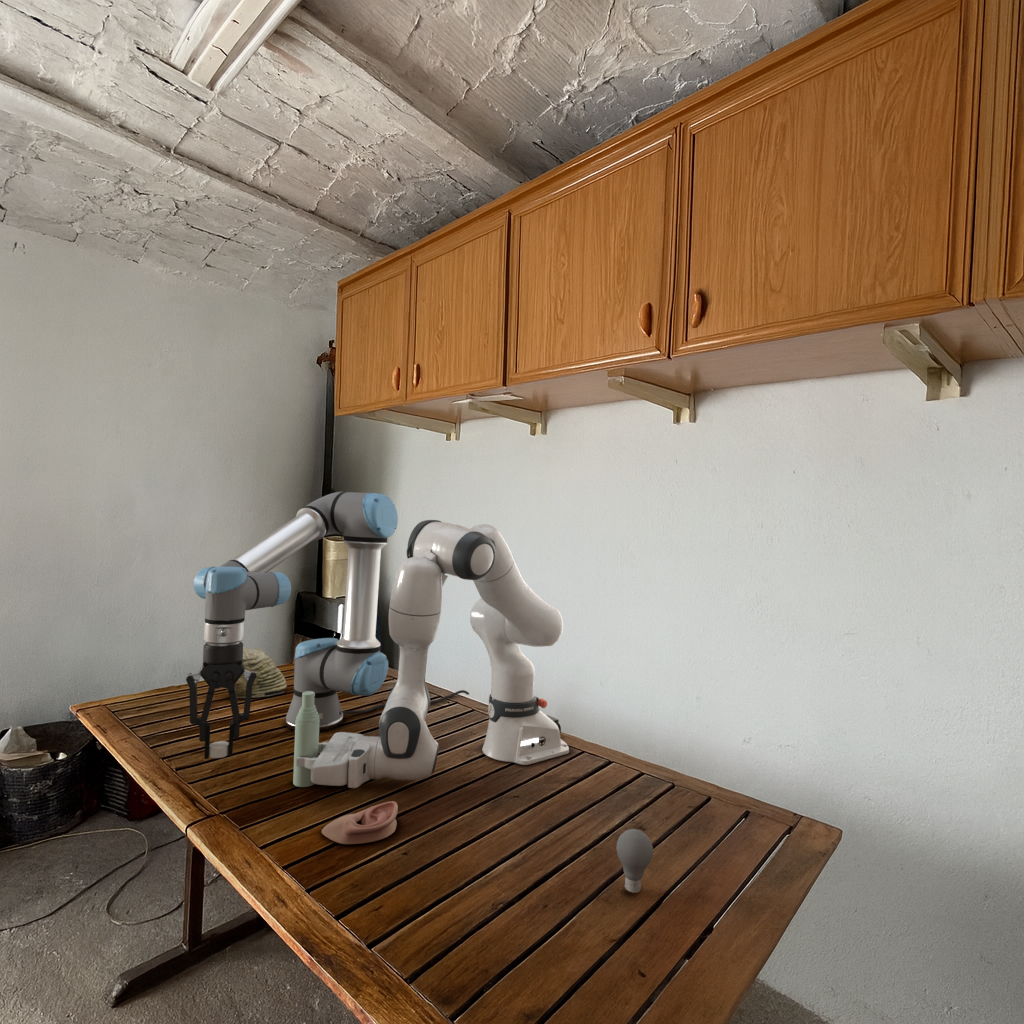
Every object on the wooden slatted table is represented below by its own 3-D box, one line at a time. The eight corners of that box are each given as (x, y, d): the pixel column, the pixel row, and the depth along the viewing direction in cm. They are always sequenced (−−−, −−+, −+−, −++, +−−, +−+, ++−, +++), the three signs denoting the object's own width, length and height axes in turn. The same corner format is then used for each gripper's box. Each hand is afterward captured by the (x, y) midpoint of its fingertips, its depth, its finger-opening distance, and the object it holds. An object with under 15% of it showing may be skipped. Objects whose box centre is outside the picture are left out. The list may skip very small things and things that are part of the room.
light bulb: (610, 879, 108) (613, 822, 108) (644, 879, 109) (647, 822, 109) (619, 902, 102) (622, 840, 102) (655, 901, 103) (658, 840, 103)
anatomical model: (313, 818, 117) (342, 790, 128) (313, 839, 117) (341, 810, 128) (381, 829, 114) (404, 800, 125) (380, 850, 114) (403, 819, 125)
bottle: (298, 776, 143) (302, 688, 143) (320, 777, 143) (324, 690, 142) (289, 786, 138) (292, 695, 138) (311, 788, 138) (315, 697, 137)
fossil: (218, 695, 195) (220, 647, 195) (278, 685, 208) (279, 640, 207) (228, 703, 189) (230, 653, 188) (289, 692, 201) (290, 645, 201)
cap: (205, 758, 128) (205, 748, 128) (211, 750, 132) (212, 741, 132) (225, 758, 129) (226, 748, 129) (231, 750, 133) (231, 741, 133)
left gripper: (175, 647, 124) (170, 766, 124) (267, 644, 130) (262, 757, 130) (180, 639, 131) (175, 752, 131) (267, 637, 137) (262, 744, 137)
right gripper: (374, 726, 151) (316, 724, 150) (355, 761, 130) (287, 759, 130) (373, 752, 151) (315, 750, 151) (353, 792, 130) (286, 789, 130)
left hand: (218, 754), depth 131 cm, fingers closed on cap, 4 cm apart
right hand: (302, 754), depth 140 cm, fingers closed on bottle, 5 cm apart
